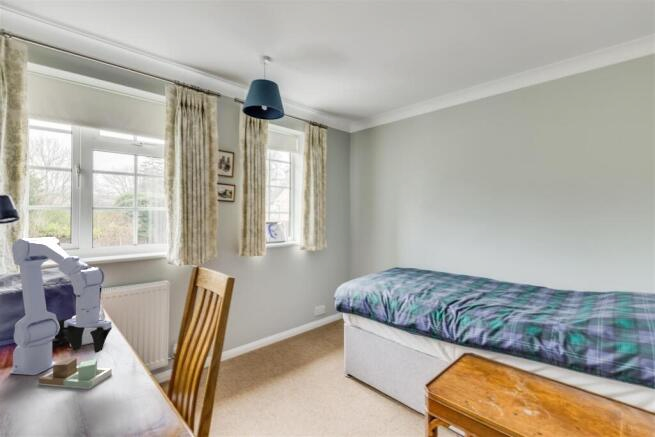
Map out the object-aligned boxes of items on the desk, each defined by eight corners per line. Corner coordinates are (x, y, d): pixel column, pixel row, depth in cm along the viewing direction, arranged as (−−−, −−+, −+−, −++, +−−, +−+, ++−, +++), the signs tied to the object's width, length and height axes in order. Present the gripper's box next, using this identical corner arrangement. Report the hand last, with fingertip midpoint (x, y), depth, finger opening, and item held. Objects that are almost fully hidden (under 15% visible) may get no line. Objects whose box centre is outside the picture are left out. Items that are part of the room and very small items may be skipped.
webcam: (61, 348, 113) (61, 322, 113) (42, 348, 113) (42, 322, 113) (78, 339, 121) (78, 315, 121) (61, 339, 121) (61, 315, 121)
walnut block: (53, 381, 90) (53, 365, 90) (62, 374, 94) (62, 358, 94) (67, 380, 91) (67, 364, 91) (76, 373, 95) (76, 358, 94)
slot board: (38, 384, 89) (38, 378, 89) (65, 370, 97) (65, 365, 97) (88, 388, 87) (88, 382, 87) (111, 374, 95) (111, 368, 95)
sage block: (81, 377, 92) (81, 361, 92) (97, 374, 94) (97, 358, 94) (78, 384, 89) (78, 367, 89) (94, 380, 91) (94, 364, 91)
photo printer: (102, 338, 123) (102, 308, 123) (103, 341, 120) (103, 311, 120) (70, 344, 116) (70, 313, 116) (69, 348, 113) (69, 316, 113)
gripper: (119, 304, 94) (119, 346, 94) (79, 302, 96) (79, 343, 96) (100, 311, 87) (99, 356, 87) (57, 309, 89) (57, 353, 89)
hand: (87, 350), depth 91 cm, fingers open, 7 cm apart
